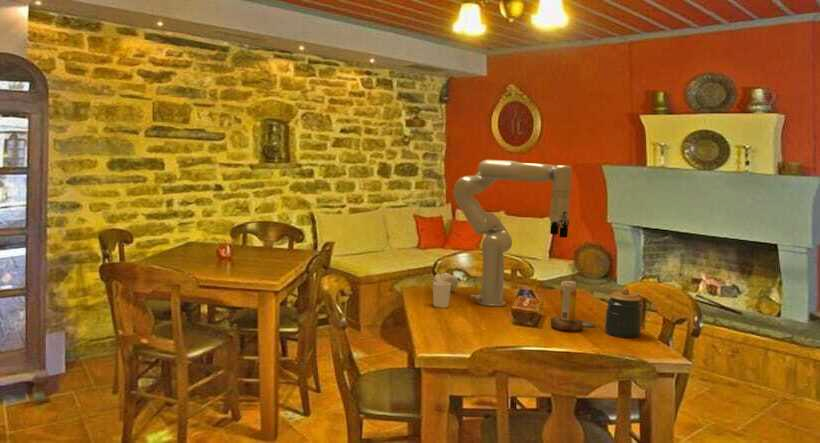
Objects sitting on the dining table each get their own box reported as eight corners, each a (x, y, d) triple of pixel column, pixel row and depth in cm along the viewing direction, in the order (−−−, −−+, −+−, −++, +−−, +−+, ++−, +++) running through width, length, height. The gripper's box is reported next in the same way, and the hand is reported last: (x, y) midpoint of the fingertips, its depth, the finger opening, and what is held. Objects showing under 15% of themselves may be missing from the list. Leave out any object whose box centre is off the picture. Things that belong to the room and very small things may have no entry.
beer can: (575, 319, 235) (577, 281, 234) (573, 322, 230) (576, 284, 228) (559, 317, 237) (561, 279, 236) (557, 320, 232) (559, 282, 230)
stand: (557, 332, 227) (558, 324, 226) (545, 323, 238) (546, 316, 238) (587, 332, 228) (588, 324, 228) (574, 323, 240) (574, 316, 240)
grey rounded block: (448, 296, 282) (449, 277, 281) (426, 292, 288) (427, 274, 287) (460, 292, 291) (460, 274, 290) (438, 288, 298) (439, 270, 297)
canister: (636, 340, 220) (640, 293, 218) (600, 334, 226) (603, 288, 225) (643, 332, 231) (647, 287, 229) (609, 326, 238) (612, 282, 236)
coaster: (581, 327, 235) (581, 325, 235) (573, 322, 242) (573, 321, 242) (598, 327, 236) (598, 325, 236) (590, 322, 243) (590, 321, 243)
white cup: (429, 306, 260) (430, 283, 259) (435, 302, 267) (436, 280, 266) (446, 309, 257) (447, 285, 256) (452, 305, 264) (453, 282, 263)
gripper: (544, 193, 259) (542, 233, 260) (560, 196, 242) (558, 238, 243) (561, 194, 260) (558, 233, 261) (578, 196, 243) (575, 238, 244)
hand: (558, 235), depth 252 cm, fingers open, 9 cm apart
